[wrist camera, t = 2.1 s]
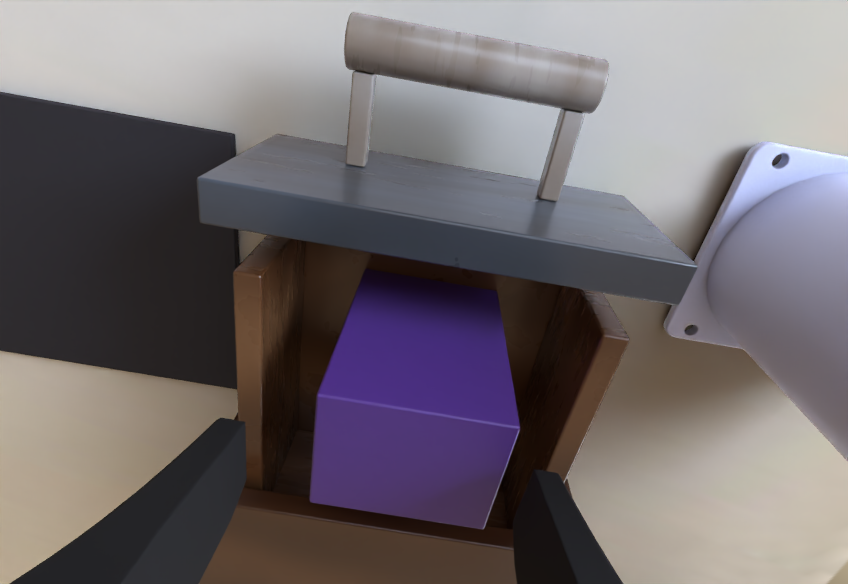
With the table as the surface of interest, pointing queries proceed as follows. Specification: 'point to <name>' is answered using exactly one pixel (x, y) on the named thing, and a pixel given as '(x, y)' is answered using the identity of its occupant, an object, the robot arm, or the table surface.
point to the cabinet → (352, 546)
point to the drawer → (435, 251)
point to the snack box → (416, 403)
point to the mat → (113, 243)
